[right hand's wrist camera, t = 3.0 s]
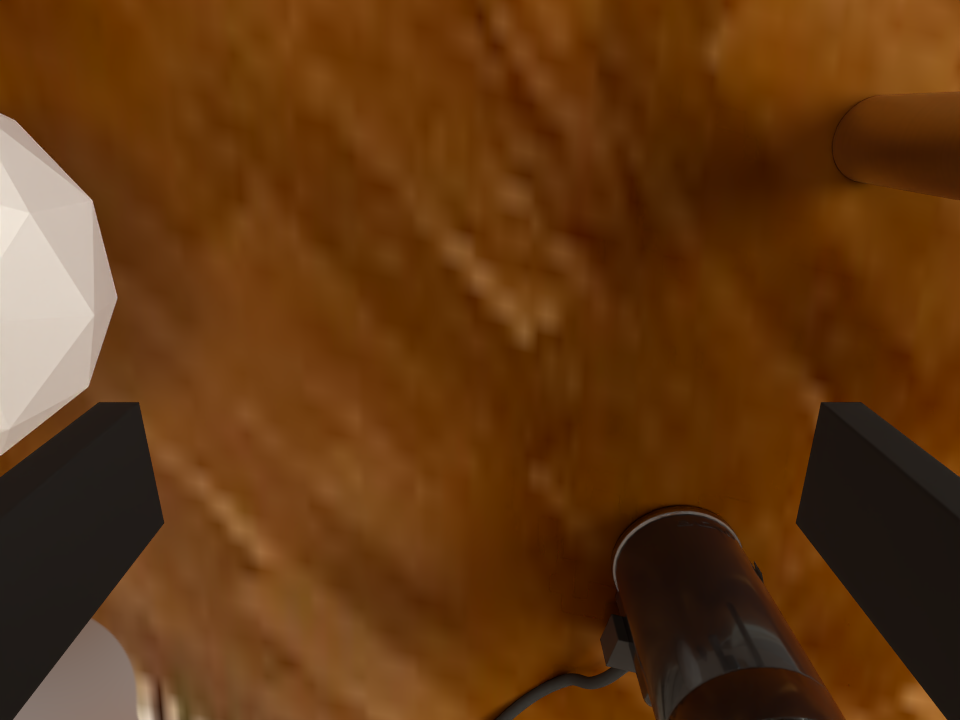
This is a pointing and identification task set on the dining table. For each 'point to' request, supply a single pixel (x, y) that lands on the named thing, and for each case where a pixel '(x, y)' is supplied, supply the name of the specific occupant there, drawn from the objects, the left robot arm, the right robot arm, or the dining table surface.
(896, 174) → the bottle
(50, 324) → the sphere
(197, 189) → the dining table surface
